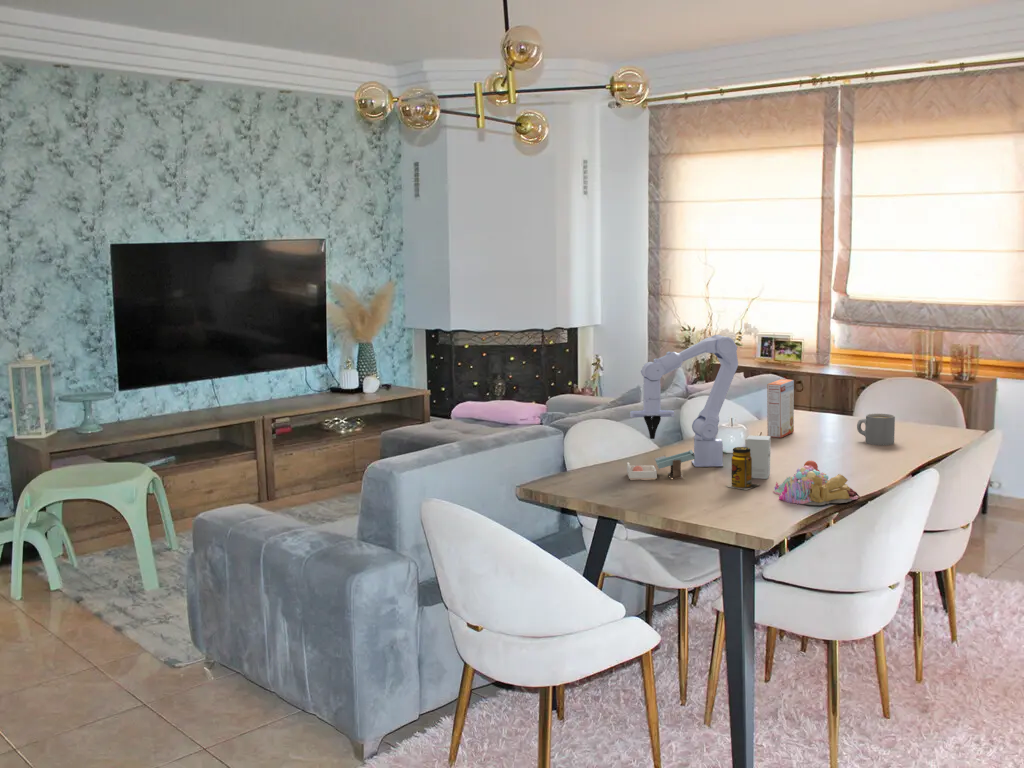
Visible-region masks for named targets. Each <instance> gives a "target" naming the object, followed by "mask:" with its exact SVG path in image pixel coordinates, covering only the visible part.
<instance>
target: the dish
mask: <svg viewBox="0 0 1024 768" xmlns="http://www.w3.org/2000/svg"><path fill="white" fill-rule="evenodd" d="M635 466H636V465H631V463H630V462H628V461H627V462H626V474H627V473H628V475H627V477H628V476H629V478H658V476H657V473H658V472H657V468H656V467H655V465H639V466H640V467H642V469H643V471H633V468H634V467H635ZM629 478H628V479H629Z"/></svg>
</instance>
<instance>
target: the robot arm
mask: <svg viewBox="0 0 1024 768" xmlns="http://www.w3.org/2000/svg"><path fill="white" fill-rule="evenodd" d="M737 351H738V346H737V344H736V343H735V341H734V339H733V338H732V337H729V336H724V335H722V334H714V335H712V336H709V337H706V338H704V339H702V340H700V341H698V342H697V343H695V344H693V345H691V346H690V347H688V348H685V349H684V350H681V351H680V352H676V351H667V352H665V353H666V354H665V355H663V356H661V357H658V358H654V359H653V361H648V362H645V363H644V364H643V366H642V367H641V370H640V374H641V376H642V378H643V385H642V386H643V387H642V389H643V391H642V392H643V399H642V402H643V407H642V408H643V409H642V410H631V411H629V417H630V418H631V419H632V418H633V419H634V418H643V420H644V422H645V424H646V426H647V429H648V434H649V439H650V440H655V439H656V433H657V429H658V427H659V425H660V423H661V420H662V419H661V418H663V417H664V418H665V417H666V418H668V417H669V418H670V417H671V418H675V410H671V409H670V410H669V409H667V410H666V409H665V410H664V409H662V407H661V406H662V405H661V403H662V402H661V400H662V398H661V397H662V396H661V394H662V393H661V391H662V389H661V386H662V385H661V378H662V377H663V376H666V375H667V374H668V373H671V372H673V371H675V370H677V369H679V368H681V367H682V366H683V365H682V364H683V362H686V361H688V360H691V359H693V358H696V357H698V356H699V355H703V354H705V353H706V354H707V353H708V354H713V355H714V356H716V358H717V360H718V362H719V364H720V366H719V370H718V372H717V375H716V377H715V379H714V381H713V384H712V387H711V390H710V391H709V395H708V397H707V400H706V402H705V404H704V407H703V409H701V410H700V412H699V414H698V415H697V417H696V418H695V419H693V421H692V424H691V428H692V431H693V433H694V434H695V435H694V436H693V453H694V456H695V459H693V460H691V463H692V465H693V466H694V467H695V468H697V467H699V468H700V467H703V468H705V467H723V466H724V464H723V462H724V458H723V457H724V456H723V455H724V454H723V453H724V451H723V450H724V447H723V446H724V445H723V440H722V438H717V435H718V434H719V423H720V416H719V415H720V413H721V409H722V407H723V405H724V402H725V399H726V397H727V395H728V392H729V389H730V386H731V385H732V382H733V379H734V377H735V374H736V372H737V369H738V366H739V361H738V352H737Z"/></svg>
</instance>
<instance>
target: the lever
mask: <svg viewBox="0 0 1024 768" xmlns="http://www.w3.org/2000/svg"><path fill="white" fill-rule="evenodd" d="M694 459H695V456H694V450H692V449H689V450H688V451H684V452H681V453H677V454H673V455H670V456H666V455H662V456H659V457H658V456H657V457H655V458H654V461H655V464H656V466H657V468H658V470H661V469H664V468H668V467H671V465H673V460H681V463H685V462H689V461H694Z"/></svg>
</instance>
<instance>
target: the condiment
mask: <svg viewBox="0 0 1024 768" xmlns="http://www.w3.org/2000/svg"><path fill="white" fill-rule="evenodd" d="M750 451H751V450H750V448H747V447H745V446H737V447H733V449H732V457H731V484H730V485H726V487H727V488H728V487H729V488H733V489H738V490H745V491H747V490H750V489H753V488H755V487H759V486H761V485H762V484H760V483H759V484H758V483H752V481H753V480H752V479H753V478H752V458H751V456H750V455H751V453H750Z"/></svg>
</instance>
